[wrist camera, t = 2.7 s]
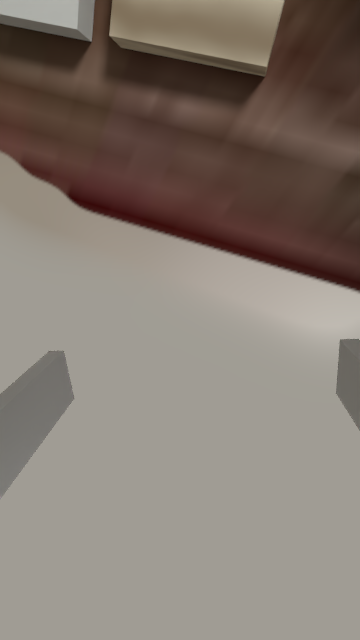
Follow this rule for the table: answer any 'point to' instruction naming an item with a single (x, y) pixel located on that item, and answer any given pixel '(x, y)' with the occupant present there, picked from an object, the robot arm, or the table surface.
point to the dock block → (200, 30)
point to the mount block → (50, 16)
